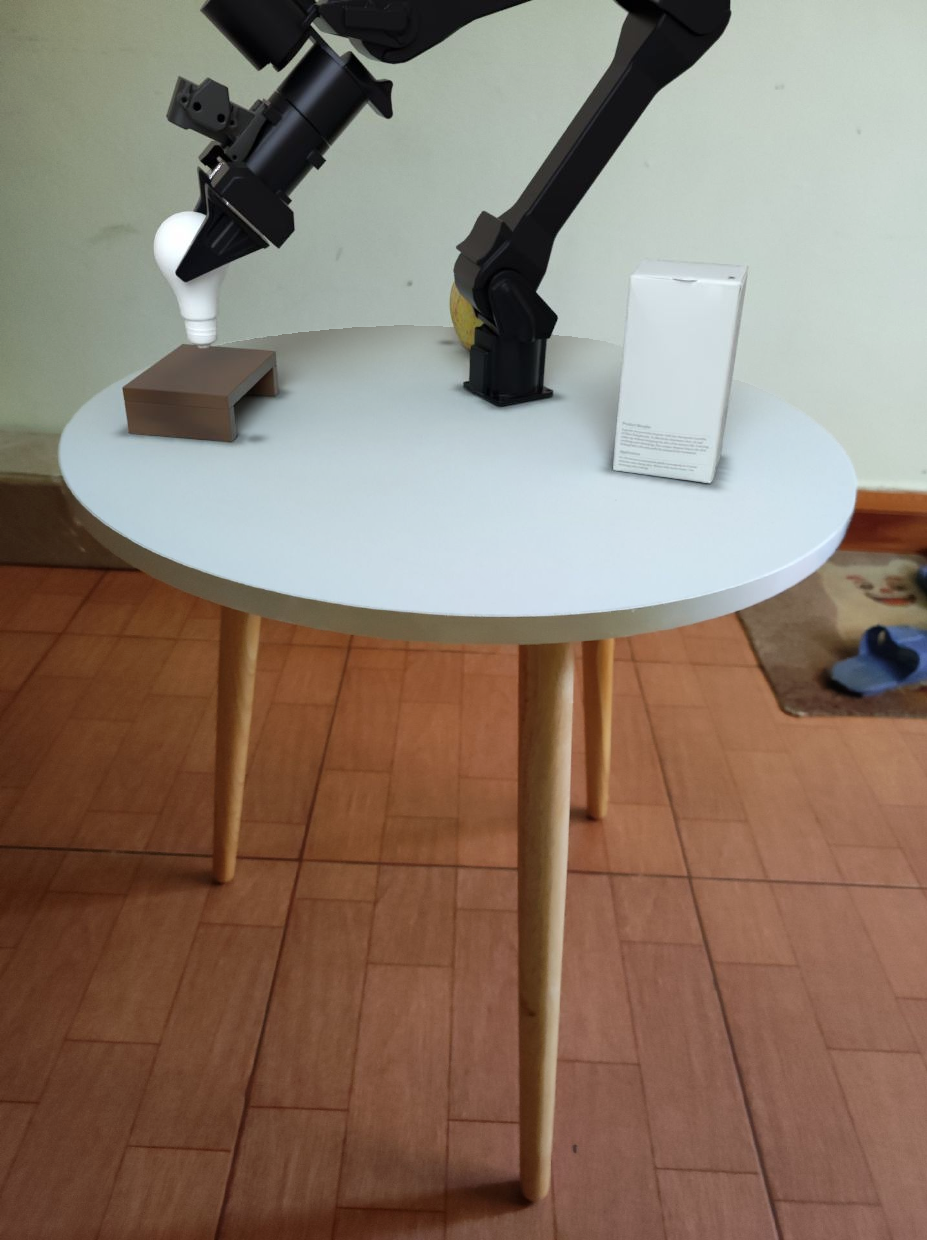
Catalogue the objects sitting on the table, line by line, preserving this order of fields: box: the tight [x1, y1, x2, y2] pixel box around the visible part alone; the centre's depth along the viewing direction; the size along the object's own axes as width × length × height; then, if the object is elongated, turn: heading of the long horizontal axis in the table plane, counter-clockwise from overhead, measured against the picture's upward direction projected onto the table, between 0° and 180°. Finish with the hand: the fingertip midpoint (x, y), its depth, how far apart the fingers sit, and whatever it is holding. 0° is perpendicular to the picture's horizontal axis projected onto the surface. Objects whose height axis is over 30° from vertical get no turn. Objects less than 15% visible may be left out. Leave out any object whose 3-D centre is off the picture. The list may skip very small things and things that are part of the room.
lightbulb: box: [152, 210, 231, 349], centre depth 83 cm, size 6×6×11 cm
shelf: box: [122, 343, 280, 443], centre depth 88 cm, size 9×13×4 cm
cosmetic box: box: [612, 257, 749, 484], centre depth 77 cm, size 8×7×16 cm
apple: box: [449, 279, 483, 351], centre depth 105 cm, size 9×9×10 cm
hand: (177, 269), depth 82 cm, fingers closed on lightbulb, 6 cm apart
